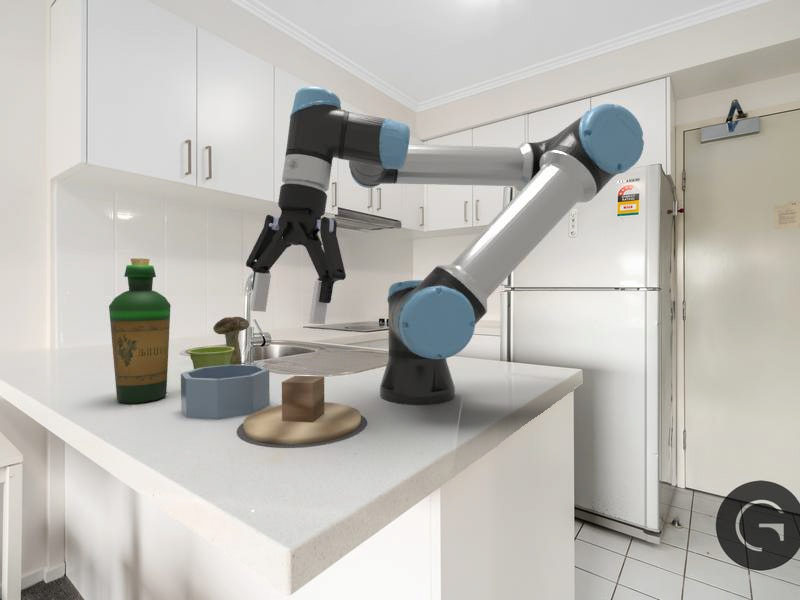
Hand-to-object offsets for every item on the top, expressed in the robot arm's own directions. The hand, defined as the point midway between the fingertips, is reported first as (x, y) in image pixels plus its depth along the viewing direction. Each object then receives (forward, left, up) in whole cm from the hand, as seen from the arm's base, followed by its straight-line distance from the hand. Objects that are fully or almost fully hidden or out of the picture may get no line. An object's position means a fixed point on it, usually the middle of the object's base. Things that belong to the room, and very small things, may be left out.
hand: (285, 317), depth 70 cm
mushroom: (+31, -34, -18) cm, 50 cm away
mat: (-4, +2, -17) cm, 18 cm away
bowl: (+14, -5, -17) cm, 23 cm away
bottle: (+35, -9, -18) cm, 40 cm away
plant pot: (+27, -20, -18) cm, 38 cm away
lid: (-4, +2, -17) cm, 17 cm away
